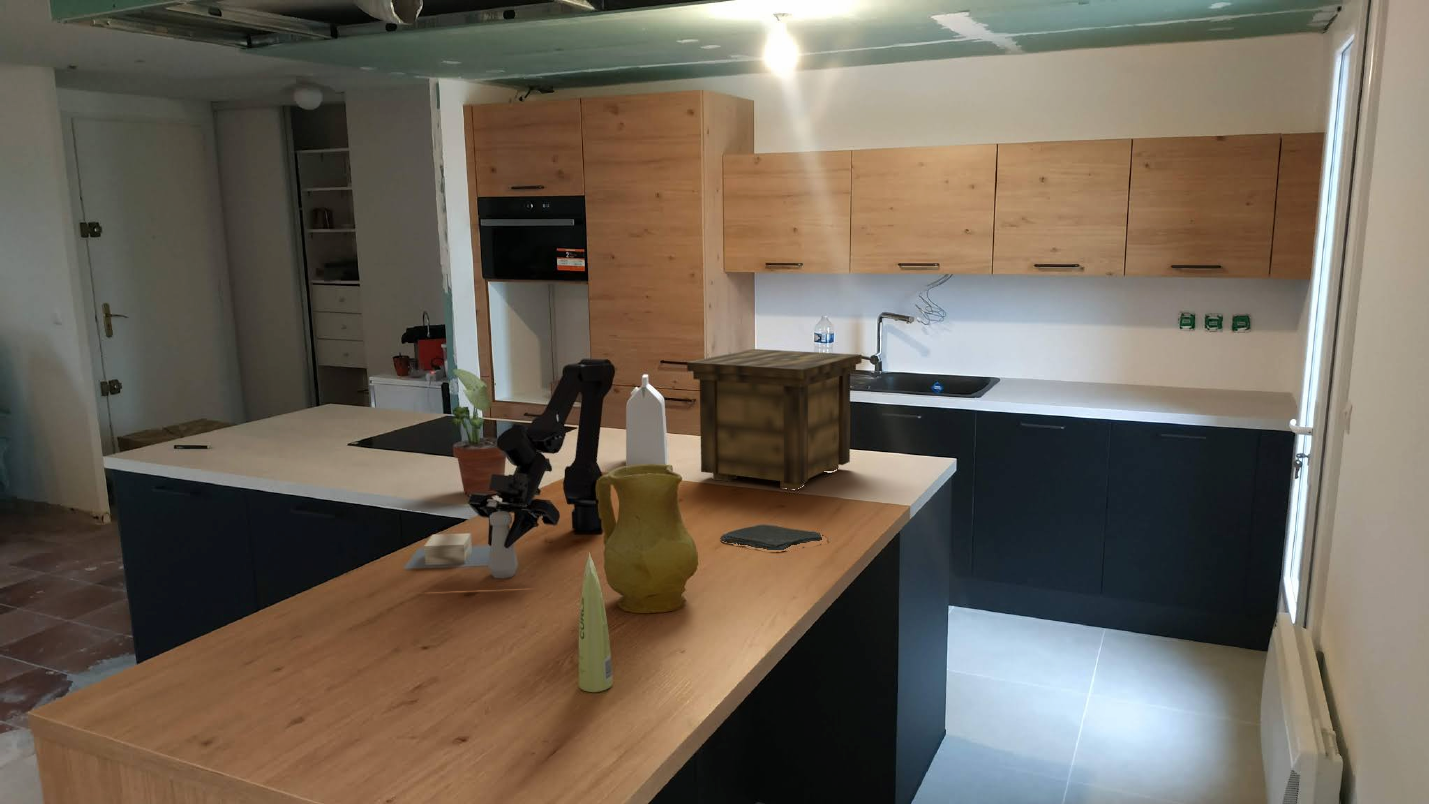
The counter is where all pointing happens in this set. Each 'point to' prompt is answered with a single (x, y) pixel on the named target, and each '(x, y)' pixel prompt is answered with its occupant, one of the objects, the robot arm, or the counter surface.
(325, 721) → the counter surface
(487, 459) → the potted plant
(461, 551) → the beech block
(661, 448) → the milk
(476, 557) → the mat
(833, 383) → the crate
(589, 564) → the tube
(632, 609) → the pitcher
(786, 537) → the stone slab
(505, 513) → the salt shaker
